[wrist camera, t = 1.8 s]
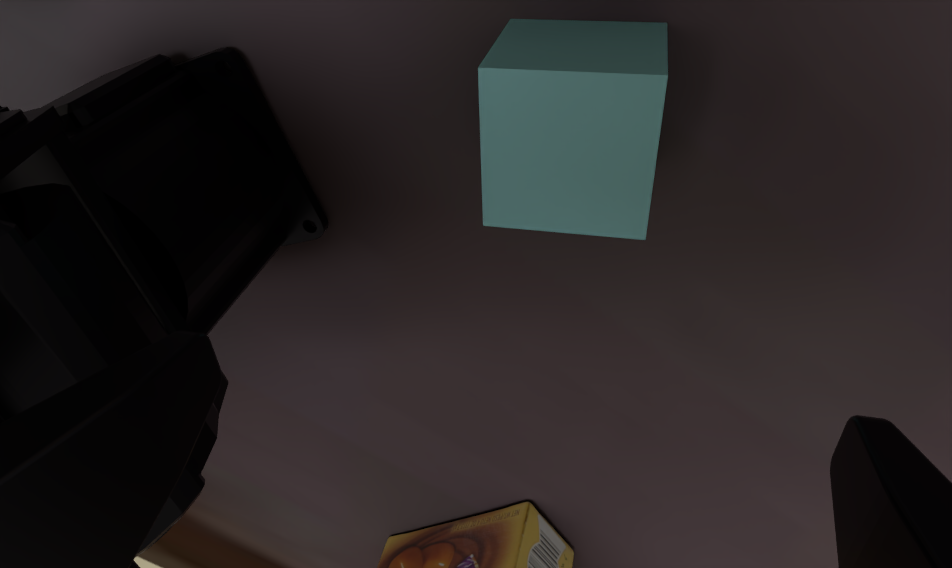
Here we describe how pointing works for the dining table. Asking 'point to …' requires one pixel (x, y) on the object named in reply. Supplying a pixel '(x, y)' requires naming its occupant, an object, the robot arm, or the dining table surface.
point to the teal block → (572, 125)
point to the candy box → (482, 543)
